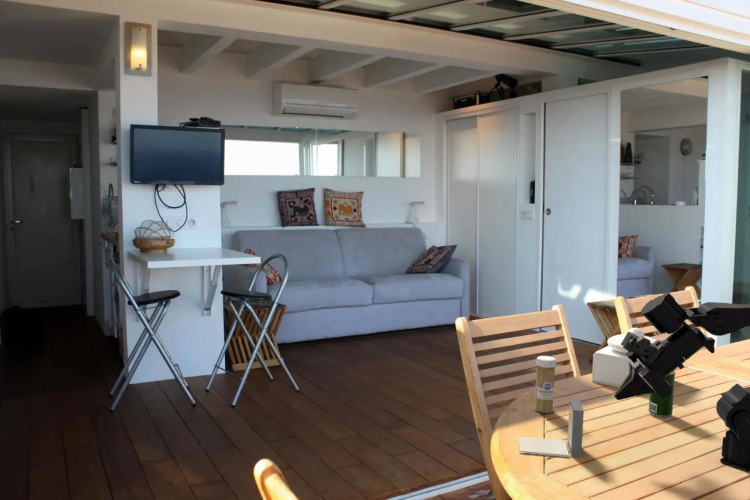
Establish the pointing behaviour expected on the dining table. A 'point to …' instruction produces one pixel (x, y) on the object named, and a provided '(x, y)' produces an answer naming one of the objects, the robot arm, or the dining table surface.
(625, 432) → the dining table surface
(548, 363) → the sprinkles bottle
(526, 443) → the plate
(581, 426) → the slate tile
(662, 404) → the beer can
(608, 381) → the butter dish
